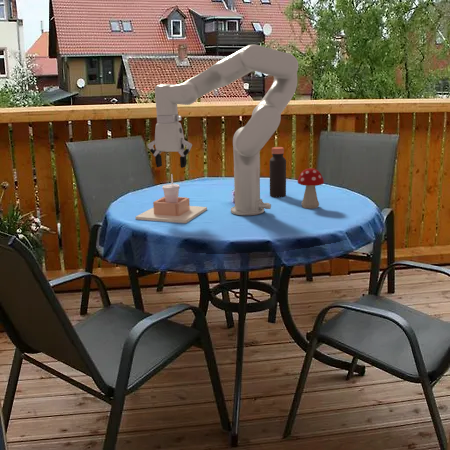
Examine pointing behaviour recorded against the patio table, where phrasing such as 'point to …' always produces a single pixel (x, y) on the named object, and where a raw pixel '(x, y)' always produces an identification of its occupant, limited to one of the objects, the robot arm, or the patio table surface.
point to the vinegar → (277, 173)
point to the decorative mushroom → (310, 187)
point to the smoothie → (171, 192)
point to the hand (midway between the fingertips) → (171, 166)
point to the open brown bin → (172, 211)
